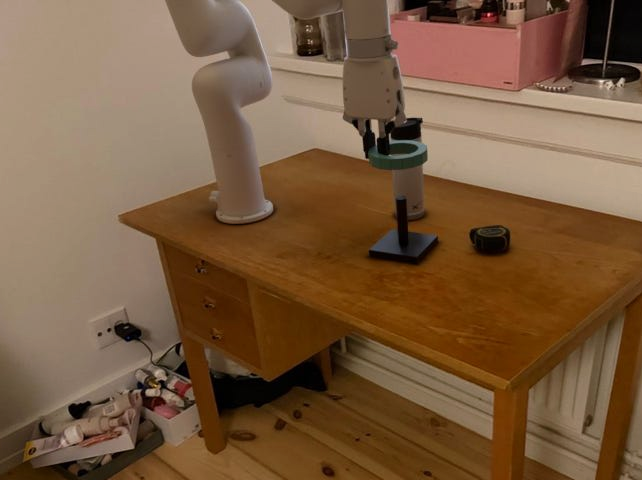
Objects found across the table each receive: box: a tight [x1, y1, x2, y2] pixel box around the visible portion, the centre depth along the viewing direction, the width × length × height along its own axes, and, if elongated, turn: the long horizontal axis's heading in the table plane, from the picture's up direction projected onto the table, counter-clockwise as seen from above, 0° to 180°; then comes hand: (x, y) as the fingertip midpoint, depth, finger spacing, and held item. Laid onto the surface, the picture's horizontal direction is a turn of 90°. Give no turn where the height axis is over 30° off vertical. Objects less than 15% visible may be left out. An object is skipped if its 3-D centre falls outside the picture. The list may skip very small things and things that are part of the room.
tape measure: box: [468, 224, 511, 253], centre depth 132 cm, size 7×7×4 cm
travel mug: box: [389, 117, 425, 221], centre depth 144 cm, size 6×7×20 cm
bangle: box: [368, 140, 429, 171], centre depth 125 cm, size 10×10×2 cm
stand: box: [368, 196, 439, 265], centre depth 132 cm, size 10×10×10 cm
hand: (377, 156), depth 127 cm, fingers closed on bangle, 2 cm apart
